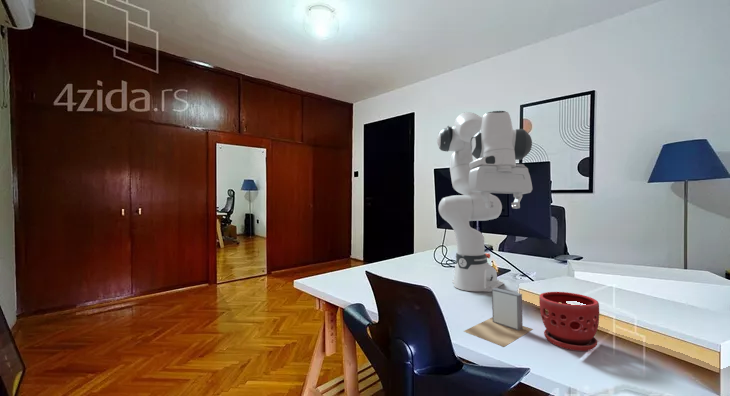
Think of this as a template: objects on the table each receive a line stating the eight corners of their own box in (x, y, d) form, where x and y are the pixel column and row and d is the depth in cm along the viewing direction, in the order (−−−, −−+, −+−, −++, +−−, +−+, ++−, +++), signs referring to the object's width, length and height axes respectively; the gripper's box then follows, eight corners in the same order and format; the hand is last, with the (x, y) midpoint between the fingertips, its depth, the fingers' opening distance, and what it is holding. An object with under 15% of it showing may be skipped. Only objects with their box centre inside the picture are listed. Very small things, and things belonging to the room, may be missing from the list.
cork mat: (493, 318, 98) (493, 316, 98) (533, 331, 89) (533, 329, 89) (463, 333, 88) (463, 331, 88) (503, 349, 79) (503, 346, 79)
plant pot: (610, 346, 79) (609, 299, 79) (581, 361, 73) (580, 310, 72) (558, 328, 90) (557, 287, 90) (529, 338, 84) (528, 294, 84)
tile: (496, 320, 95) (495, 287, 95) (522, 328, 89) (521, 294, 89) (492, 322, 94) (491, 289, 94) (518, 330, 88) (518, 295, 88)
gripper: (519, 166, 100) (523, 209, 98) (464, 163, 94) (467, 208, 92) (535, 161, 94) (539, 207, 92) (477, 157, 88) (480, 206, 86)
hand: (502, 208), depth 92 cm, fingers open, 8 cm apart
